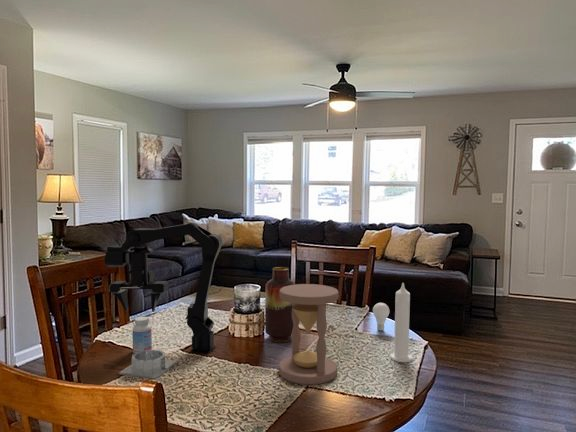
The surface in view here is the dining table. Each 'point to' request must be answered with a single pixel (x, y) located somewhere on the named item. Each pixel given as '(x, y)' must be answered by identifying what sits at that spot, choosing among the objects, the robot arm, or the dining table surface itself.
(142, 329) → the pill bottle
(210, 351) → the robot arm
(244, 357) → the dining table surface
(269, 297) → the vase
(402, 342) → the candle
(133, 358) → the duct collar
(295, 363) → the hourglass
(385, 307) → the lightbulb
